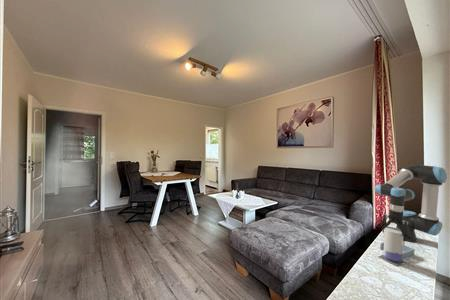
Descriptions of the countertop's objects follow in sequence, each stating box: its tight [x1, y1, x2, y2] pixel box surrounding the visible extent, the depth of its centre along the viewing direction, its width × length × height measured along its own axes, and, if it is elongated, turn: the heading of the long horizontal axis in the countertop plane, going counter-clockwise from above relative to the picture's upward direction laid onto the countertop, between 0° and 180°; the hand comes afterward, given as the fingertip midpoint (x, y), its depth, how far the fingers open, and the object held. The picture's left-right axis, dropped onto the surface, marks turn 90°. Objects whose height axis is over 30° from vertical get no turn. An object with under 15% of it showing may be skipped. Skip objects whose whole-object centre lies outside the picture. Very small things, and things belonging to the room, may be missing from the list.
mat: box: [378, 254, 407, 267], centre depth 140 cm, size 11×11×1 cm
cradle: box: [379, 241, 416, 261], centre depth 149 cm, size 14×14×5 cm
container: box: [382, 226, 403, 261], centre depth 139 cm, size 10×10×20 cm
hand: (393, 241), depth 139 cm, fingers closed on container, 10 cm apart
